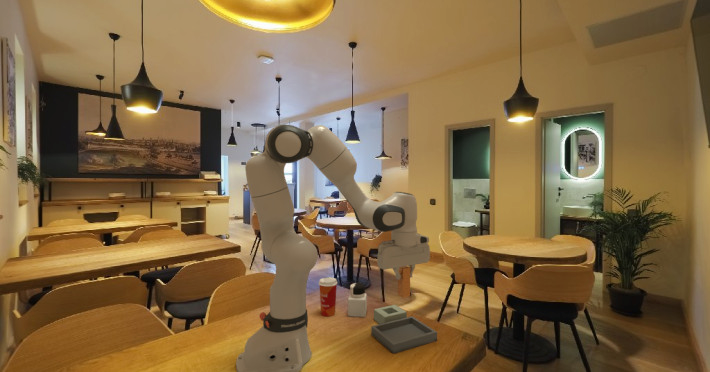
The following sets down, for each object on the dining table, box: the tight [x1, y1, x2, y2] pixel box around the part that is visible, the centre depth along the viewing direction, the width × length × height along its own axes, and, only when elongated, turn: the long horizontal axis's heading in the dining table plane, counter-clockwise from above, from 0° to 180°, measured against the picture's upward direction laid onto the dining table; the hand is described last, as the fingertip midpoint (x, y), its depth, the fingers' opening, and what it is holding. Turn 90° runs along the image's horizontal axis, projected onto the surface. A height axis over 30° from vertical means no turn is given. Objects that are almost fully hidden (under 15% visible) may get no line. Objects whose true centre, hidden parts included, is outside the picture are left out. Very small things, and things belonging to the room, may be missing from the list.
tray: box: [370, 315, 438, 355], centre depth 113 cm, size 18×14×3 cm
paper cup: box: [318, 276, 338, 318], centre depth 132 cm, size 8×8×14 cm
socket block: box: [373, 304, 408, 324], centre depth 125 cm, size 10×8×4 cm
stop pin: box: [397, 266, 411, 299], centre depth 112 cm, size 3×3×10 cm
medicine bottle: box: [347, 282, 368, 318], centre depth 132 cm, size 7×7×12 cm
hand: (404, 278), depth 112 cm, fingers closed on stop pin, 3 cm apart
